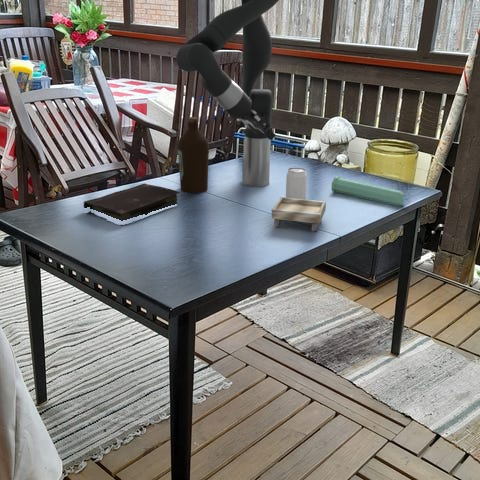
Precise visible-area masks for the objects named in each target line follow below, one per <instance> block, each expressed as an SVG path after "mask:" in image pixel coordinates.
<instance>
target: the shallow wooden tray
mask: <svg viewBox="0 0 480 480" xmlns="http://www.w3.org/2000/svg"><path fill="white" fill-rule="evenodd" d="M326 204H327V202H326V201H324V200H313V199H306V200H305V199H294V198H286V197H281V196H280V197H279V199H278V200H277V202H276V203H275V204H274V206H273V207H272V209H271V219H274V227H275V228H280V227H281V221H283V220H285V221H295V222H302V223H304V222H305V223H311V231H312V232H317V231H318V225H319V224H320V223H321V221H322V219H323V217H324V214H325V212H326V206H327V205H326ZM279 226H280V227H279ZM316 230H317V231H316Z"/></svg>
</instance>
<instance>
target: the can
mask: <svg viewBox="0 0 480 480" xmlns="http://www.w3.org/2000/svg"><path fill="white" fill-rule="evenodd" d="M306 171H307V170H306V169H305V168H303V167H295V166H294V167H290V168H289V167H288V169H287V172H286V179H285V180H286V181H285V183H286V184H285V198H294V199H305V200H307V197H306V196H307V184H308V183H307V182H308V180H307V179H308V174H307V172H306Z"/></svg>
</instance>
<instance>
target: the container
mask: <svg viewBox="0 0 480 480" xmlns="http://www.w3.org/2000/svg"><path fill="white" fill-rule="evenodd" d="M330 189H331V191H332V193H338V194H343V195H348V196H353V197H356V198H360V199H366V200H371V201H374V202H378V203H383V204H388V205H392V206H397V207H398V206H402V205H403V203H404V202H405V197H406V195H405V193H404V192H403V191H402V190H397V189H393V188H388V187H383V186H378V185H374V184H369V183H366V182H360V181H356V180H352V179H346V178H342V177H340V176H339V175H337V176H334V177H333V179H332V182H331V188H330Z"/></svg>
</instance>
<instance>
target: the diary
mask: <svg viewBox="0 0 480 480" xmlns="http://www.w3.org/2000/svg"><path fill="white" fill-rule="evenodd" d="M181 193H182V191H178V190H175V189H171V188H166V187H164V186H159V185H154V184H148V183H141V184H138V185H135V186H133V187H130V188H125V189H121V190H118V191H114V192H112V193H109V194H106V195H102V196H100V197H95V198H93V199H89V200H85V201H83V209H84V208H87V207H90V209H93V210H96V211H98V212H101V213H104V214H106V215H108V216H111V217H113V218H116V219H119V220H121V221H123V220H127V219H130V218H133V217H137V216H139V215H143V214H145V215H147V214H148V213H150V212H152V211H156V210H159V209H162V208H165V207H168V206H171V205H175V204H178V195H179V194H181Z"/></svg>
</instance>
